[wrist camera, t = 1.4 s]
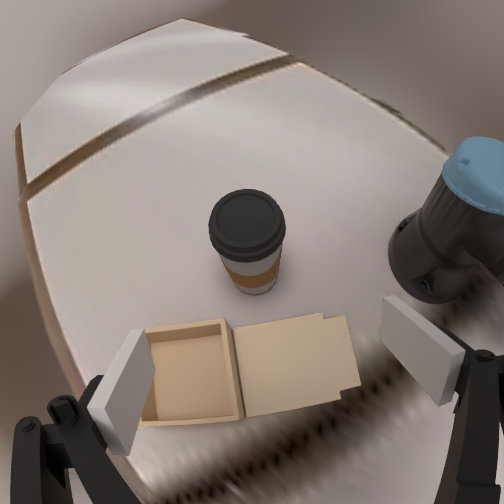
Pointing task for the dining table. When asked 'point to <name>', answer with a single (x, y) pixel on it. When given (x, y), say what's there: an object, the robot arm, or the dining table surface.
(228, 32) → the dining table surface
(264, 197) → the coffee cup
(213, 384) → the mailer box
